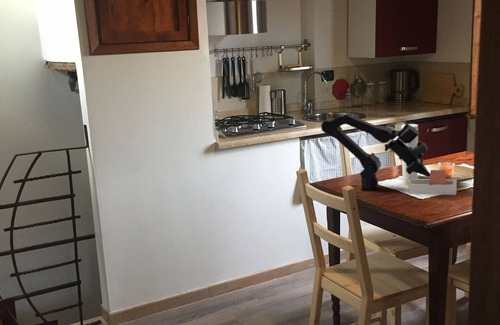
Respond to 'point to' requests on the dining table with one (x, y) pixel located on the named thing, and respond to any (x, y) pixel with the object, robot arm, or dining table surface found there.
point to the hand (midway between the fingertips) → (429, 175)
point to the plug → (438, 177)
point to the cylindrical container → (405, 174)
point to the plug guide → (432, 187)
